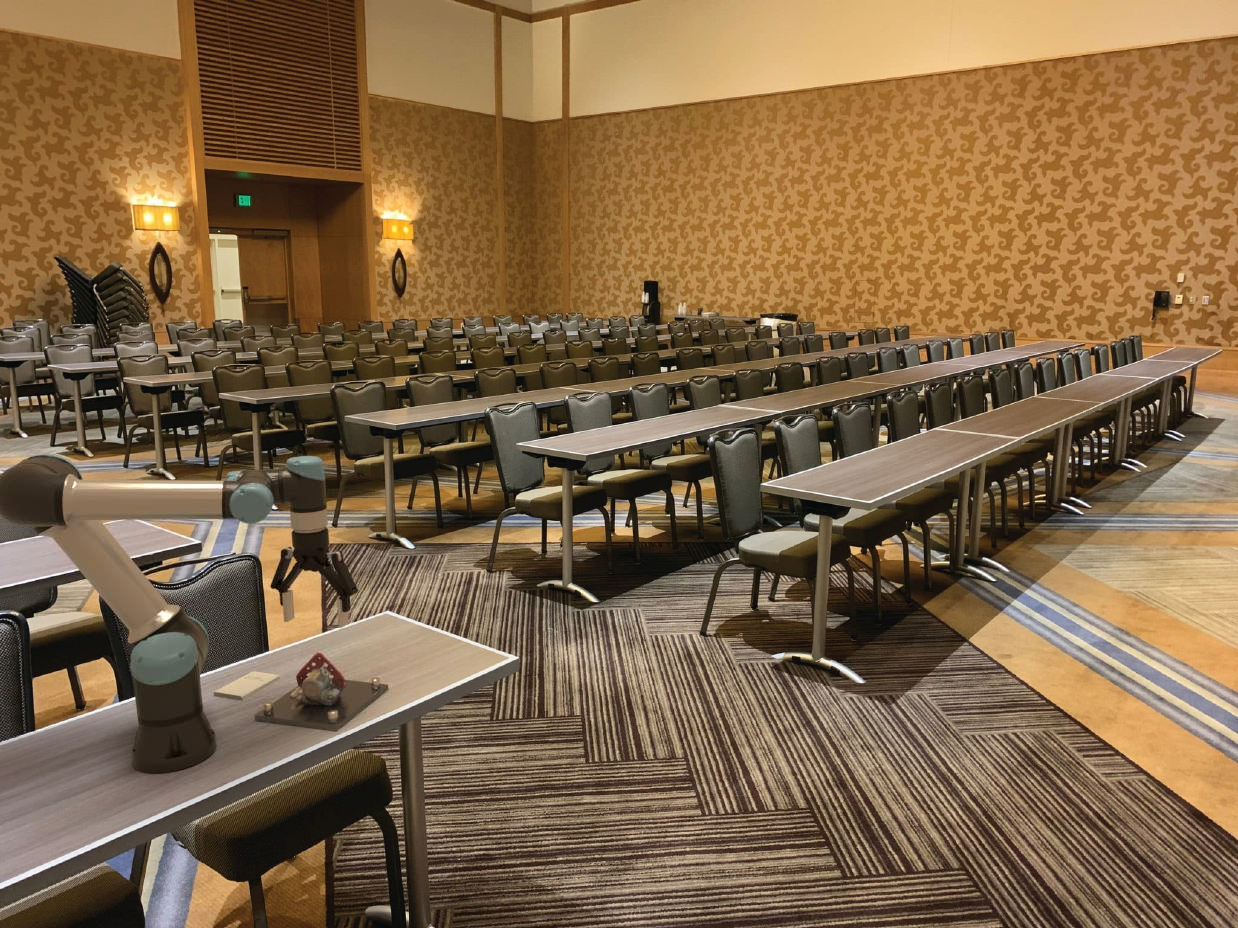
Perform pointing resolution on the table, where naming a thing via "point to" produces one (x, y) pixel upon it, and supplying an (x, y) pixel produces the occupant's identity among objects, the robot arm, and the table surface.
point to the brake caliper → (318, 683)
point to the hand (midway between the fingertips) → (316, 622)
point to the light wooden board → (246, 685)
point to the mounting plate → (324, 707)
